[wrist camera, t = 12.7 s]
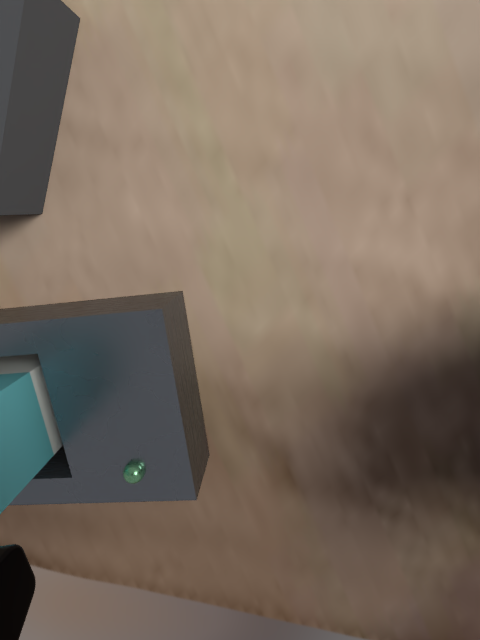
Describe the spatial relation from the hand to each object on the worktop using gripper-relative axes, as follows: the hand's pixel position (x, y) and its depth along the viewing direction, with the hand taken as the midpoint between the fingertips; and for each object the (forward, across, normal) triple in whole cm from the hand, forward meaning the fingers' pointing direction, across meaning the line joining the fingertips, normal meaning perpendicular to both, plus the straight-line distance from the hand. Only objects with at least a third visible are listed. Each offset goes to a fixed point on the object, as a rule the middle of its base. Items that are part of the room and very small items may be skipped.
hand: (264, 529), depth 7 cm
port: (+14, +11, +2) cm, 18 cm away
